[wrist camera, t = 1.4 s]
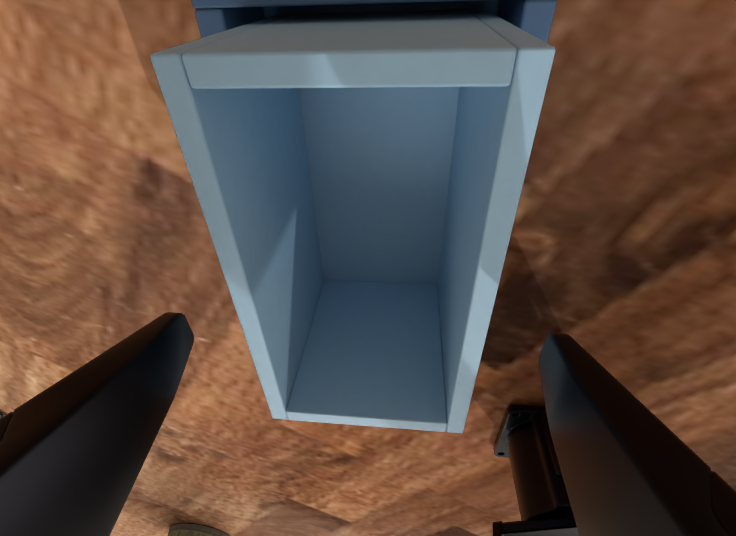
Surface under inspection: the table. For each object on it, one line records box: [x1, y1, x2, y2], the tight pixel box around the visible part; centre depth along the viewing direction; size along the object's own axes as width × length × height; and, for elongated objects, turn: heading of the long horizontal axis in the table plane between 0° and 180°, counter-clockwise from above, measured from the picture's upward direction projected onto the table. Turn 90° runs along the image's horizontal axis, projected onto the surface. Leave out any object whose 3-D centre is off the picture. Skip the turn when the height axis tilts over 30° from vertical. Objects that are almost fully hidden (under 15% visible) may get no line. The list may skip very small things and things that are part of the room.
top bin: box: [150, 9, 555, 433], centre depth 13 cm, size 12×7×8 cm, turn 2°
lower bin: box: [191, 0, 557, 43], centre depth 15 cm, size 14×9×4 cm, turn 2°
